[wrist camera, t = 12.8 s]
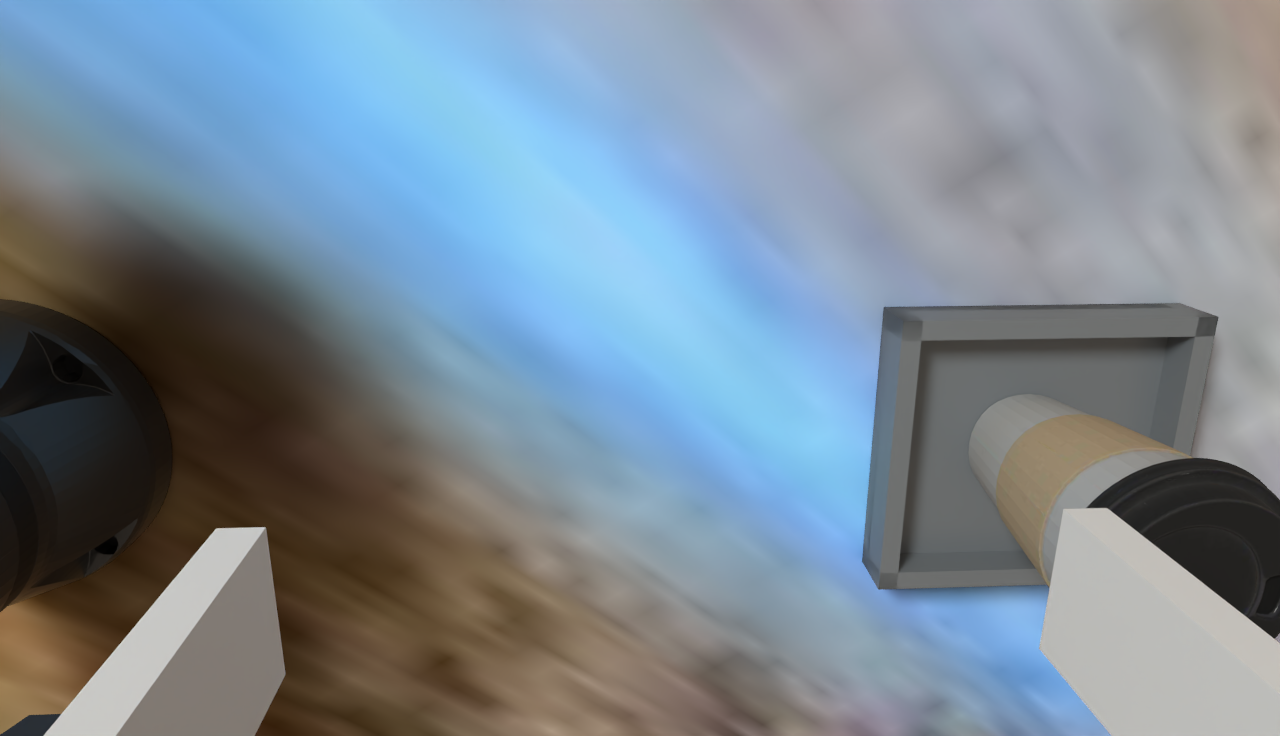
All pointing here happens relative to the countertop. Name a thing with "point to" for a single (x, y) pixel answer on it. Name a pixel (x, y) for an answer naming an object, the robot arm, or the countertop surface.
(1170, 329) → the tray
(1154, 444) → the coffee cup
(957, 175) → the countertop surface
